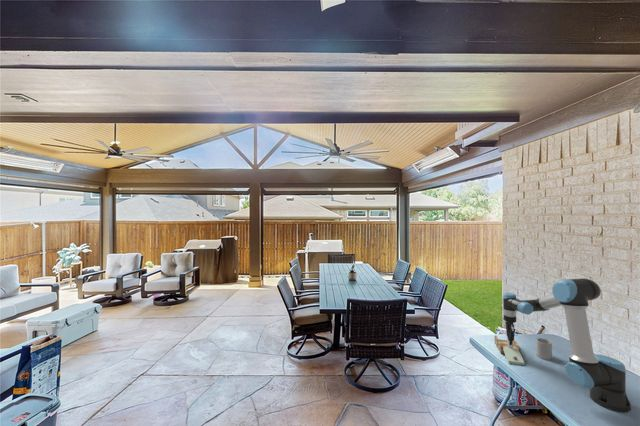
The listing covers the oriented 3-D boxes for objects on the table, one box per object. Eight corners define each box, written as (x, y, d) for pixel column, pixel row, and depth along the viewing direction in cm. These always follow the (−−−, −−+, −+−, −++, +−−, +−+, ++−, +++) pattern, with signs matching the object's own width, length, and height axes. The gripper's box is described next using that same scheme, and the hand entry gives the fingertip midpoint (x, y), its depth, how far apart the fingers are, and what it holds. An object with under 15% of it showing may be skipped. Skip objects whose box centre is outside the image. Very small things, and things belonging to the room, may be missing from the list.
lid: (524, 365, 182) (524, 361, 182) (508, 362, 185) (508, 359, 185) (518, 351, 193) (518, 347, 192) (503, 349, 196) (503, 345, 195)
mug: (554, 360, 186) (554, 344, 186) (539, 358, 189) (539, 342, 189) (546, 352, 198) (546, 336, 198) (532, 350, 201) (532, 335, 200)
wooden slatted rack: (520, 356, 193) (520, 348, 193) (500, 354, 197) (500, 345, 197) (513, 345, 208) (513, 337, 208) (494, 343, 212) (494, 335, 212)
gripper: (519, 319, 187) (519, 354, 188) (513, 312, 200) (513, 344, 200) (506, 318, 190) (507, 352, 190) (501, 311, 202) (501, 343, 203)
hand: (510, 348), depth 195 cm, fingers closed
